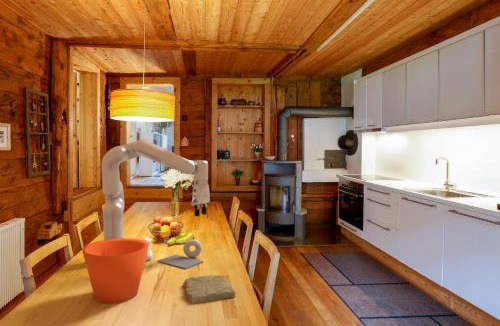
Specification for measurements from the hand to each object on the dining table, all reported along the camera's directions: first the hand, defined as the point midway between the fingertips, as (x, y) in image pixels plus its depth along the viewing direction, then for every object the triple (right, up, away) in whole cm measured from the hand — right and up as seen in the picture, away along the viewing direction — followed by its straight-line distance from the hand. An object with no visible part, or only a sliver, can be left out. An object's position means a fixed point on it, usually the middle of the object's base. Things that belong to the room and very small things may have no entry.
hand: (200, 214), depth 196 cm
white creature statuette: (-28, -23, -9) cm, 37 cm away
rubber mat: (-9, -23, -12) cm, 27 cm away
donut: (-4, -23, -4) cm, 24 cm away
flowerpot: (-26, -25, -54) cm, 65 cm away
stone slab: (+9, -25, -48) cm, 55 cm away
